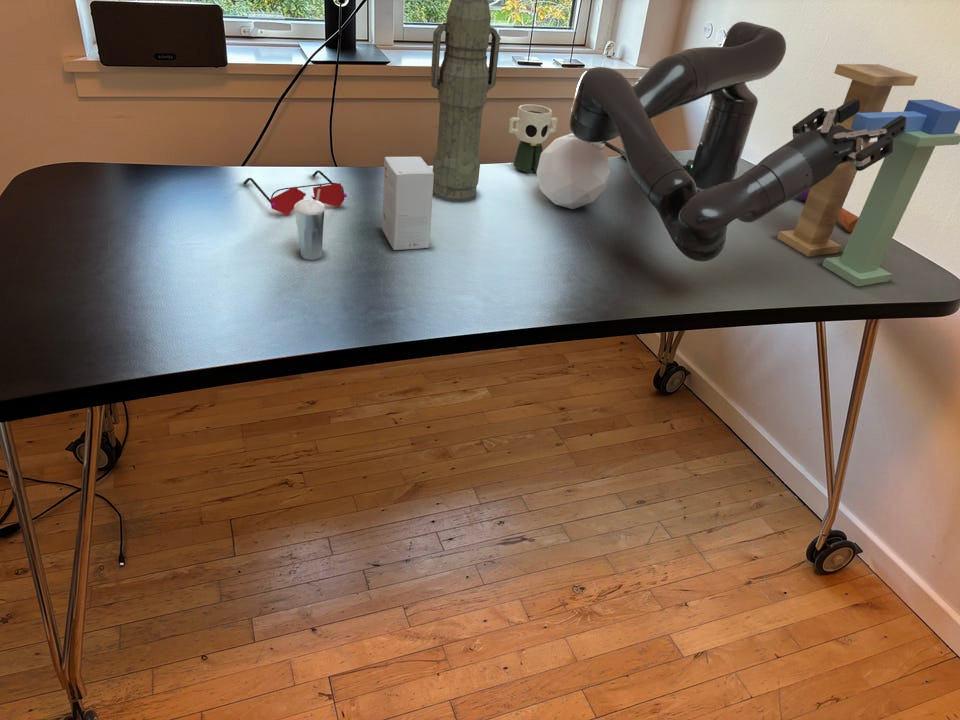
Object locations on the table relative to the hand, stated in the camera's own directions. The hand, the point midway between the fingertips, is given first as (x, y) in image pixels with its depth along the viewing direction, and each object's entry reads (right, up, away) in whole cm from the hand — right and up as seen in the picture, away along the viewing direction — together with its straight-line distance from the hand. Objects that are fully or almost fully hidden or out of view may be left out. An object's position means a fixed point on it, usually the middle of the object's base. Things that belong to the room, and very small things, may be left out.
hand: (880, 112), depth 107 cm
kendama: (+13, -6, +44) cm, 47 cm away
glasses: (-94, -7, +24) cm, 98 cm away
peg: (+5, -1, +4) cm, 6 cm away
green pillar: (+7, -22, +21) cm, 31 cm away
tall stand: (+2, -15, +29) cm, 33 cm away
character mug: (-50, +4, +48) cm, 70 cm away
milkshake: (-87, -21, +6) cm, 89 cm away
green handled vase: (-65, -5, +33) cm, 73 cm away
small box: (-73, -17, +14) cm, 76 cm away
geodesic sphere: (-43, -6, +34) cm, 55 cm away
